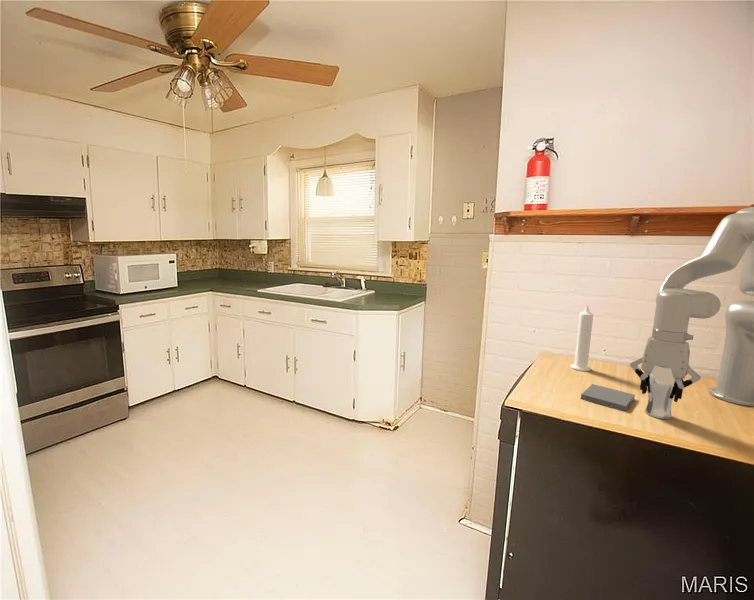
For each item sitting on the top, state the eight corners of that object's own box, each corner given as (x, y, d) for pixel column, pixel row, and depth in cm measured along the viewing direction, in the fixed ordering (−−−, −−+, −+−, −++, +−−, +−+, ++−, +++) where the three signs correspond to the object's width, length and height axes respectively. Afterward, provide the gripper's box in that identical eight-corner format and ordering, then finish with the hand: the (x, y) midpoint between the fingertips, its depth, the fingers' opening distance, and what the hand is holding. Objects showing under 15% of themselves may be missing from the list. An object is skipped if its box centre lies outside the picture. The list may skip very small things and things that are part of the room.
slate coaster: (634, 399, 118) (634, 394, 118) (625, 411, 110) (626, 406, 109) (591, 388, 126) (592, 383, 126) (580, 398, 118) (581, 394, 118)
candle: (593, 372, 142) (601, 307, 138) (573, 370, 143) (580, 306, 139) (587, 366, 149) (594, 304, 145) (568, 364, 150) (574, 303, 146)
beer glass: (663, 421, 103) (670, 369, 101) (637, 411, 109) (643, 362, 107) (679, 417, 106) (685, 366, 104) (652, 407, 112) (658, 359, 110)
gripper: (711, 339, 100) (700, 402, 103) (634, 328, 112) (626, 384, 115) (709, 344, 95) (698, 410, 98) (628, 332, 107) (621, 391, 110)
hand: (659, 395), depth 107 cm, fingers closed on beer glass, 6 cm apart
